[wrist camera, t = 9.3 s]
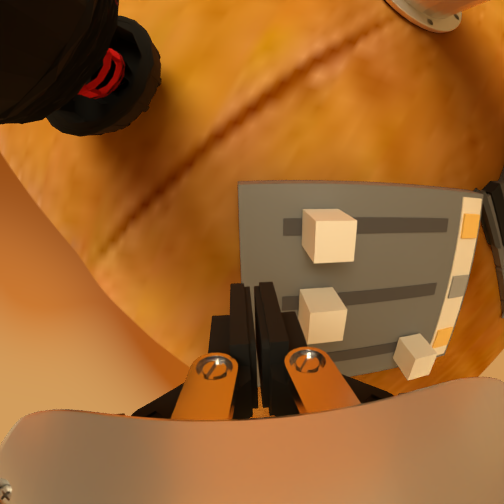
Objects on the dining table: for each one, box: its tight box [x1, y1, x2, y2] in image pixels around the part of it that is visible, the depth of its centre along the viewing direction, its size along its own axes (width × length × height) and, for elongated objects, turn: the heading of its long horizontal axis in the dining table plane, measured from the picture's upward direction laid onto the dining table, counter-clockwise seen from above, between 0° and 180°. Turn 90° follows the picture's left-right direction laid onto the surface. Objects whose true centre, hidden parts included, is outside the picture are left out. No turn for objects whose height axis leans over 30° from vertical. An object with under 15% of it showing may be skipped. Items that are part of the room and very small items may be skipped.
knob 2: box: [298, 287, 347, 344], centre depth 24 cm, size 3×3×4 cm
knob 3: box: [393, 334, 437, 380], centre depth 27 cm, size 3×3×4 cm
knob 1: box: [302, 209, 357, 263], centre depth 21 cm, size 3×3×4 cm
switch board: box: [238, 180, 483, 387], centre depth 27 cm, size 21×26×3 cm
